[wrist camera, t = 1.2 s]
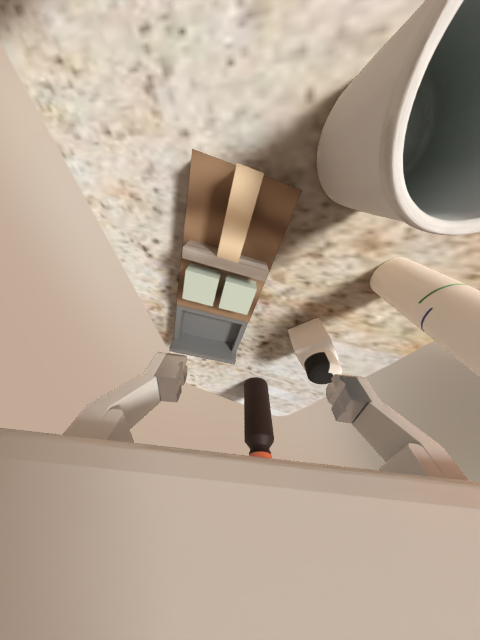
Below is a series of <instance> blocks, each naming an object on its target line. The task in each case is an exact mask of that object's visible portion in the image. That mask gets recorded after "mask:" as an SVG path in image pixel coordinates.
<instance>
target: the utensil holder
mask: <svg viewBox="0 0 480 640" xmlns="http://www.w3.org/2000/svg"><path fill="white" fill-rule="evenodd" d="M317 173H318V178H319V181H320V184H321V186H322V188H323V190H324V192H325V193H326V194H327V196H328V197H329V198H330V199H331V200H333V201H334V202H336V203H337V204H339V205H342V206H345V207H348V208H351V209H355V210H358V211H362V212H366V213H370V214H374V215H378V216H382V217H386V218H390V219H395V220H399V221H403V222H405V223H407V224H408V225H410V226H412V227H414V228H416V229H419V230H421V231H425V232H429V233H433V234H440V235H464V234H471V233H477V232H480V0H426V1H425V2H424V3H423V4H422V5H421V6H420V7H419V8H418V9H417V10H416V11H415V13H414V14H413V15H412V16H411V17H410V18H409V19H408V20H407V21H406V22H405V24H404V25H403V26H402V27H401V28H400V29H399V30H398V31H397V32H396V33H395V34H394V35H393V36H392V37H391V39H390V40H389V41H388V42H387V43H386V44H385V45H384V46H383V47H382V48H381V49H380V50H379V51H378V53H377V54H376V55H375V56H374V57H373V58H372V59H371V60H370V61H369V63H368V64H367V65H366V66H365V67H364V68H363V70H362V71H361V72H360V73H359V74H358V75H357V76H356V77H355V78H354V80H353V81H352V82H351V83H350V84H349V85H348V87H347V88H346V89H345V90H344V91H343V93H342V94H341V95H340V97H339V98H338V100H337V101H336V103H335V104H334V106H333V108H332V109H331V111H330V113H329V115H328V117H327V119H326V122H325V124H324V127H323V129H322V133H321V136H320V140H319V144H318V150H317Z"/></svg>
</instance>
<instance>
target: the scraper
mask: <svg viewBox="0 0 480 640" xmlns="http://www.w3.org/2000/svg"><path fill="white" fill-rule="evenodd" d="M263 176H264V173H263V172H260V171H257V170H255V169H252V168H250V167H247V166H244V165H242V164H239V163H237V165H236V170H235V174H234V179H233V183H232V188H231V193H230V197H229V202H228V207H227V211H226V216H225V221H224V225H223V230H222V235H221V239H220V244H219V248H216V247H213V246H210V245H206V244H203V243H200V242H196V241H193V240H189V241H188V242H187V243H186V244H185V245H184V246H183V251H182V258H184V259H187V260H191V261H194V262H198V263H201V264H205V265H208V266H212V267H215V268H219V269H222V270H226V271H229V272H233V273H236V274H240V275H243V276H247V277H250V278H254V279H257V280H261V281H264V282H265V281H266V279H267V276H268V274H269V270H268V267H267V263H266V262H263V261H259V260H256V259H253V258H249V257H246V256H243V255H241V252H242V248H243V245H244V242H245V238H246V235H247V231H248V228H249V224H250V221H251V217H252V214H253V210H254V207H255V204H256V200H257V197H258V193H259V190H260V186H261V183H262V179H263Z"/></svg>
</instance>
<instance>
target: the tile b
mask: <svg viewBox="0 0 480 640" xmlns="http://www.w3.org/2000/svg"><path fill="white" fill-rule="evenodd" d="M256 291H257V286H256V281H252V280H249V279H245V278H242V277H238V276H235V275H231V274H227V276H226V279H225V283H224V287H223V291H222V295H221V299H220V303H219V308H221V309H225V310H229V311H233V312H237V313H241V314H245V315H247V314H248V312H249V309H250V307H251V304H252V301H253V299H254V296H255V293H256Z"/></svg>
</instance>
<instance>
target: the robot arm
mask: <svg viewBox="0 0 480 640" xmlns="http://www.w3.org/2000/svg"><path fill="white" fill-rule="evenodd" d="M186 362H187V356H184V355H177V354H171V353H162V352H158V353H157V354H155V356H154V357H153V359H152V360H151V362H150V364H149V365H148V367H147V368H146V370H145V371H144V373H143V374H142V375H138V376H136V377H134V378H133V379H131V380H129V381H128V382H126V383H124V384H122V385H121V386H119V387H117V388H115V389H114V390H112V391H110V392H109V393H107V394H105V395H103V396H101V397H100V398H98V399H96V400H95V401H93V402H91V403H89V404H88V405H87V406H86V407H85V408H84V409H83V411H82V412H81V413H80V414H79V416H78V417H77V418H76V419H75V420H74V421H73V423H72V424H71V425H70V426H69V427H68V429H67V430H66V431H65V432H64V433H63V435H58V434H49V433H40V432H32V431H23V430H14V429H5V428H0V640H480V482H476V481H469V480H468V479H467V477H466V476H465V475H464V474H463V472H462V471H461V470H460V469H459V467H458V466H457V465H456V464H455V462H454V461H453V460H452V459H451V457H450V456H449V455H448V454H447V452H446V451H445V450H444V449H443V447H442V446H441V445H439V444H438V443H437V442H435V441H434V440H433V439H431V438H430V437H429V436H427V435H426V434H425V433H423V432H422V431H421V430H419V429H418V428H417V427H415V426H414V425H413V424H411V423H410V422H408V421H407V420H406V419H405V418H403V417H402V416H401V415H399V414H398V413H397V412H395V411H394V410H392V409H391V408H390V407H389V406H387V405H386V404H382V402H381V400H380V399H379V398H378V396H377V395H376V393H375V392H374V390H373V389H372V387H371V386H370V384H369V383H368V381H367V380H366V379H365V378H364V377H358V376H349V375H340V374H335V375H333V377H332V378H331V379H332V381H333V382H331V383H329V384H328V386H327V388H326V396H327V399H328V402H329V403H331V404H332V405H333V406H332V412H333V414H334V417H335V419H336V421H339V422H346V423H353V424H352V425H353V426H354V427H355V428H356V429H357V430H358V431H359V432H360V434H361V435H362V436H363V437H364V438H365V439H366V440H367V441H368V442H369V443H370V445H371V446H372V447H373V448H374V449H375V450H376V451H377V453H379V455H380V456H381V457H382V458H383V459H384V460H385V461H386V462H385V464H383V465H382V466H381V467H380V469H379V471H378V470H369V469H360V468H351V467H342V466H334V465H325V464H315V463H307V462H299V461H290V460H281V459H272V458H263V457H254V456H245V455H236V454H227V453H219V452H209V451H200V450H192V449H182V448H174V447H165V446H156V445H147V444H138V443H134V441H133V438H132V435H131V432H130V429H131V428H132V427H133V426H134V425H135V424H136V423H138V422H139V421H140V420H141V419H142V418H143V417H144V416H145V415H147V414H148V413H149V412H150V411H151V410H152V409H153V408H154V407H155V406H157V405H158V404H159V403H160V402H161V401H167V402H178V399H179V397H180V394H181V386H182V385H184V383H185V381H186V377H187V366H186Z"/></svg>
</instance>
